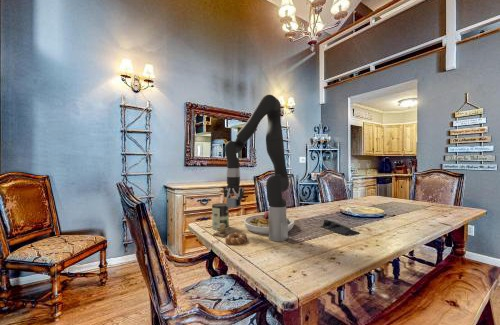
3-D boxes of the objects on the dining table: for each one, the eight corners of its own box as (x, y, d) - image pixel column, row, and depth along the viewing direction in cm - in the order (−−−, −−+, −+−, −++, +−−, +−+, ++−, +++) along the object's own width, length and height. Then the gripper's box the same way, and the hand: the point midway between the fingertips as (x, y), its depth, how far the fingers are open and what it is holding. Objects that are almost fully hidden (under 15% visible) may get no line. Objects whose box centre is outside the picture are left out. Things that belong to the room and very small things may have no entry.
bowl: (298, 236, 123) (298, 222, 123) (243, 236, 123) (243, 222, 123) (289, 221, 153) (289, 210, 153) (245, 221, 153) (245, 210, 153)
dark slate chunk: (341, 239, 120) (341, 230, 120) (317, 227, 141) (317, 219, 141) (364, 236, 125) (364, 227, 125) (337, 225, 145) (337, 217, 145)
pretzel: (231, 248, 108) (231, 240, 108) (220, 241, 117) (220, 234, 117) (252, 242, 115) (252, 235, 114) (240, 236, 123) (240, 229, 123)
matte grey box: (240, 206, 131) (240, 197, 131) (234, 208, 126) (234, 199, 126) (232, 205, 134) (232, 196, 134) (226, 206, 130) (226, 198, 129)
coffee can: (229, 225, 145) (229, 203, 144) (227, 230, 134) (227, 206, 134) (213, 225, 145) (213, 203, 145) (210, 230, 134) (210, 206, 134)
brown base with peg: (231, 234, 127) (231, 223, 127) (223, 237, 121) (223, 226, 121) (221, 231, 131) (221, 221, 131) (213, 235, 125) (213, 224, 125)
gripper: (247, 176, 129) (247, 205, 129) (227, 175, 137) (227, 203, 137) (239, 176, 123) (239, 207, 123) (219, 176, 131) (219, 205, 131)
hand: (233, 205), depth 130 cm, fingers closed on matte grey box, 5 cm apart
